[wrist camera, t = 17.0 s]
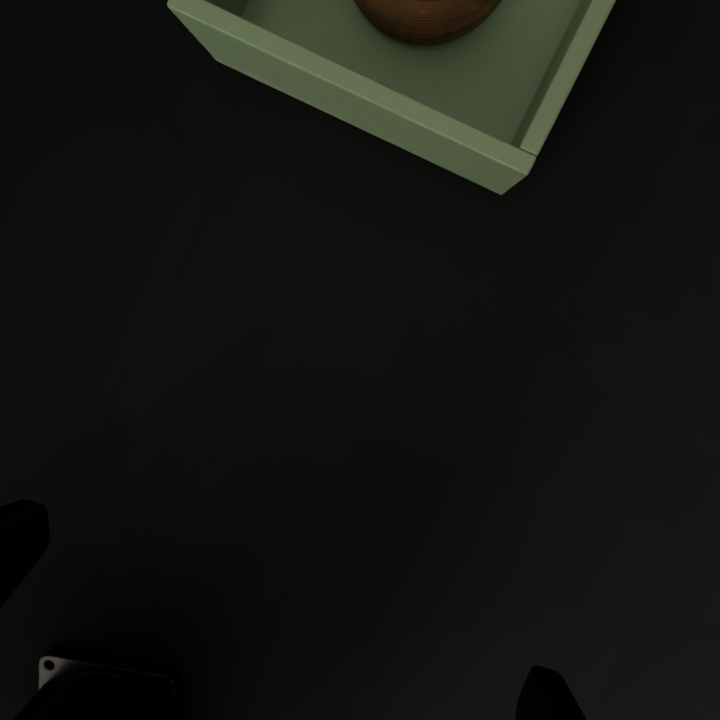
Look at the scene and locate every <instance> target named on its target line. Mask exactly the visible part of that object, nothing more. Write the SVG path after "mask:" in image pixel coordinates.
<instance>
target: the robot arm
mask: <svg viewBox="0 0 720 720" xmlns="http://www.w3.org/2000/svg"><path fill="white" fill-rule="evenodd" d="M49 541H50V533H49V521H48V511H47V508H46V507H45V506H44V505H42V504H39V503H36V502H33V501H29V500H21V501H17V502H14V503H11V504H8V505H5V506H2V507H0V608H1V607H2V605H3V604H4V603H5V602H6V600H7V599H8V598H9V597H10V595H11V594H12V593H13V592H14V590H15V589H16V588H17V587H18V585H19V584H20V583H21V582H22V580H23V579H24V578H25V577H26V575H27V574H28V573H29V572H30V570H31V569H32V568H33V567H34V565H35V564H36V563H37V562H38V560H39V559H40V558H41V557H42V555H43V554H44V553H45V551H46V549H47V547H48V545H49ZM164 681H166V682H168V683H169V684H167V683H165V682H164ZM178 682H179V680H178V676H177V674H176V673H175V672H173V671H171V670H169V669H163V668H157V667H152V666H146V665H140V664H135V663H129V662H123V661H118V660H112V659H106V658H101V657H95V656H90V655H84V654H78V653H73V652H67V651H61V650H56V649H51V650H49V651H47V652H46V653H45V655H44V656H43V657H42V658H41V659H40V661H39V691H38V692H37V693H36V694H35V695H34V696H33V697H32V699H31V700H30V701H29V702H28V703H27V704H26V706H25V707H24V708H23V709H22V710H21V711H20V712H19V714H18V715H17V716H16V717H15V718H14V719H13V720H179V718H178V717H176V714H177V698H178ZM516 720H586V718H585V716H584V714H583V712H582V711H581V709H580V707H579V705H578V703H577V702H576V700H575V698H574V696H573V694H572V693H571V691H570V689H569V687H568V685H567V684H566V682H565V680H564V678H563V677H562V676H561V674H560V673H558V672H557V671H554V670H551V669H548V668H545V667H542V666H539V665H534V666H533V667H532V668H531V670H530V672H529V674H528V676H527V679H526V681H525V683H524V686H523V688H522V691H521V693H520V695H519V698H518V702H517V707H516Z"/></svg>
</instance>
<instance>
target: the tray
mask: <svg viewBox="0 0 720 720" xmlns="http://www.w3.org/2000/svg"><path fill="white" fill-rule="evenodd" d="M615 1H616V0H502V1H501V2H500V4H499V5H498V7H497V8H496V9H495V10H494V12H493V13H492V14H491V15H490V16H489V17H488V18H487V19H486V20H485V21H484V22H483V23H482V24H481V25H479V26H478V27H477V28H475V29H474V30H473V31H471V32H470V33H468V34H466V35H464V36H463V37H460V38H458V39H456V40H453V41H451V42H448V43H444V44H439V45H432V46H418V45H411V44H406V43H403V42H400V41H397V40H395V39H393V38H390V37H389V36H387V35H385V34H383V33H382V32H381V31H379V30H378V29H377V28H375V27H374V26H373V25H372V24H371V23H370V22H369V21H368V20H367V19H366V17H365V16H364V15H363V14H362V12H361V11H360V10H359V8H358V7H357V5H356V3H355V2H354V0H168V2H167V6H168V7H169V8H170V10H171V11H172V12H173V13H174V14H175V15H176V16H177V17H178V18H179V19H180V21H181V22H182V23H183V24H184V25H185V26H186V27H187V28H188V29H189V31H190V32H191V33H192V34H193V35H194V36H195V37H196V38H197V39H198V40H199V42H200V43H201V44H202V45H203V46H204V47H205V48H206V49H207V50H208V51H209V53H210V54H211V55H212V56H213V57H214V58H215V60H216V61H218V62H220V63H222V64H224V65H226V66H228V67H231V68H233V69H235V70H237V71H239V72H241V73H243V74H245V75H248V76H250V77H252V78H254V79H256V80H258V81H260V82H262V83H265V84H267V85H269V86H271V87H273V88H275V89H277V90H279V91H282V92H284V93H286V94H288V95H290V96H292V97H294V98H296V99H298V100H301V101H303V102H305V103H307V104H309V105H311V106H313V107H315V108H318V109H320V110H322V111H324V112H326V113H328V114H330V115H332V116H335V117H337V118H339V119H341V120H343V121H345V122H347V123H349V124H352V125H354V126H356V127H358V128H360V129H362V130H364V131H366V132H368V133H371V134H373V135H375V136H377V137H379V138H381V139H383V140H385V141H388V142H390V143H392V144H394V145H396V146H398V147H400V148H402V149H405V150H407V151H409V152H411V153H413V154H415V155H417V156H419V157H422V158H424V159H426V160H428V161H430V162H432V163H434V164H436V165H438V166H441V167H443V168H445V169H447V170H449V171H451V172H453V173H455V174H458V175H460V176H462V177H464V178H466V179H468V180H470V181H472V182H475V183H477V184H479V185H481V186H483V187H485V188H487V189H489V190H492V191H494V192H496V193H498V194H500V195H502V194H504V193H505V192H506V191H507V190H509V189H510V188H511V187H512V186H514V185H515V184H516V183H518V182H519V181H520V180H522V179H523V178H524V177H526V176H527V175H528V174H529V172H530V170H531V168H532V166H533V164H534V162H535V160H536V156H537V155H538V154H539V152H540V150H541V148H542V146H543V144H544V142H545V140H546V138H547V136H548V134H549V132H550V130H551V128H552V126H553V124H554V122H555V120H556V118H557V116H558V114H559V112H560V110H561V108H562V107H563V105H564V103H565V101H566V99H567V97H568V95H569V93H570V91H571V89H572V87H573V85H574V83H575V81H576V79H577V77H578V75H579V73H580V71H581V69H582V67H583V65H584V63H585V61H586V59H587V57H588V55H589V53H590V51H591V49H592V47H593V45H594V43H595V41H596V39H597V37H598V35H599V33H600V31H601V29H602V27H603V25H604V23H605V21H606V19H607V17H608V15H609V13H610V11H611V9H612V7H613V5H614V3H615Z"/></svg>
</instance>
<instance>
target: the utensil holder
mask: <svg viewBox="0 0 720 720" xmlns="http://www.w3.org/2000/svg"><path fill="white" fill-rule="evenodd" d="M501 1H502V0H354V2H355V3H356V5H357V7H358V8H359V10H360V11H361V12H362V14H363V15H364V16H365V17H366V19H367V20H368V21H369V22H370V23H371V24H372V25H373V26H374V27H375V28H377V29H378V30H379V31H381V32H382V33H383V34H385V35H387V36H389V37H390V38H393V39H395V40H397V41H400V42H403V43H406V44H411V45H418V46H432V45H439V44H444V43H448V42H451V41H453V40H456V39H458V38H460V37H463V36H464V35H466V34H468V33H470V32H471V31H473V30H474V29H475V28H477V27H478V26H479V25H481V24H482V23H483V22H484V21H485V20H486V19H487V18H488V17H489V16H490V15H491V14H492V13H493V12H494V10H495V9H496V8H497V7H498V5H499V4H500V2H501Z"/></svg>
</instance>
